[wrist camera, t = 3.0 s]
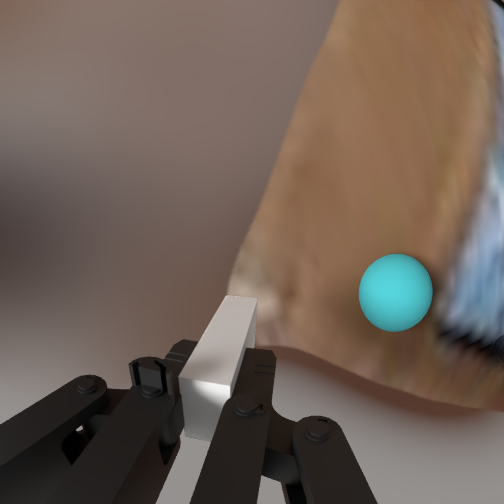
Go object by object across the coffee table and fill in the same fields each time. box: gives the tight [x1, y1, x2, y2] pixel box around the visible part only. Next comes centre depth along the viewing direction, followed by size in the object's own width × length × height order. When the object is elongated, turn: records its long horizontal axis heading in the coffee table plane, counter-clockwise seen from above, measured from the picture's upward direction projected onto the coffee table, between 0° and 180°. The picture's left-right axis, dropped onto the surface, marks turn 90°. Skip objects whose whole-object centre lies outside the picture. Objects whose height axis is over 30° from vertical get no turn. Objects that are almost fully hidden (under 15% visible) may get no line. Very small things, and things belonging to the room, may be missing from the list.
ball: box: [359, 254, 433, 332], centre depth 19 cm, size 6×6×6 cm
